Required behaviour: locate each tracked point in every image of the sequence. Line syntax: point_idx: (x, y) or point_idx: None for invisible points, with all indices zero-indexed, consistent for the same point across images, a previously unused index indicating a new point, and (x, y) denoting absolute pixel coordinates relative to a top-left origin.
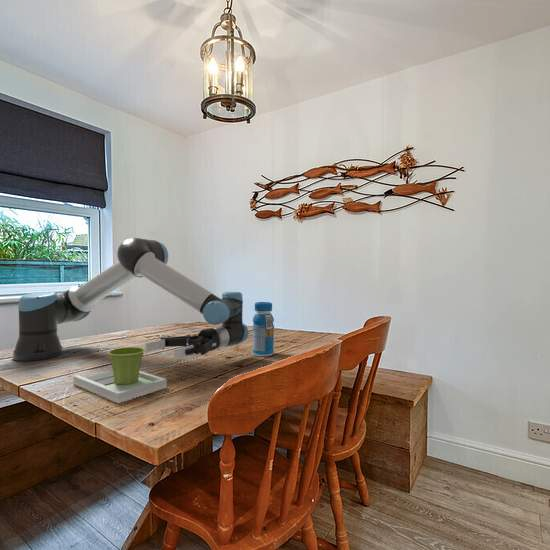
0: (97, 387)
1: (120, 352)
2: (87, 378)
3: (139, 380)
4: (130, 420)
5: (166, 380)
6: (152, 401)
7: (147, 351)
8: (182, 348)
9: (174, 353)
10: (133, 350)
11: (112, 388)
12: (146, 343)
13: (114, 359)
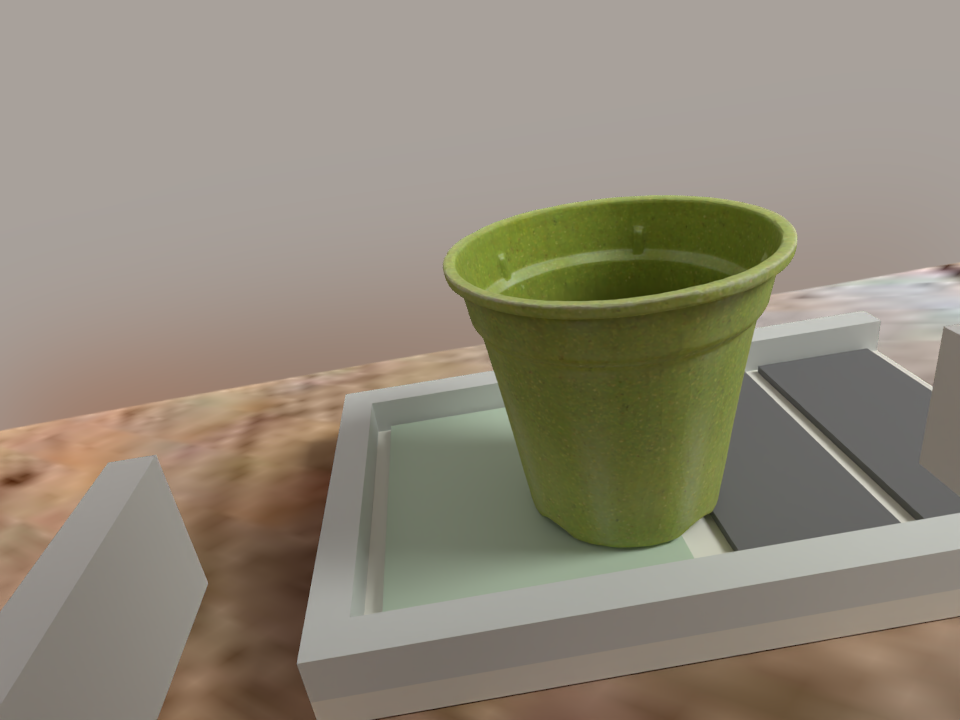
0: None
1: (759, 262)
2: (858, 368)
3: (584, 554)
4: (143, 441)
5: (302, 676)
6: (201, 551)
7: (927, 465)
8: (39, 576)
9: (169, 516)
10: (747, 299)
11: (453, 389)
12: (953, 333)
13: (554, 253)
